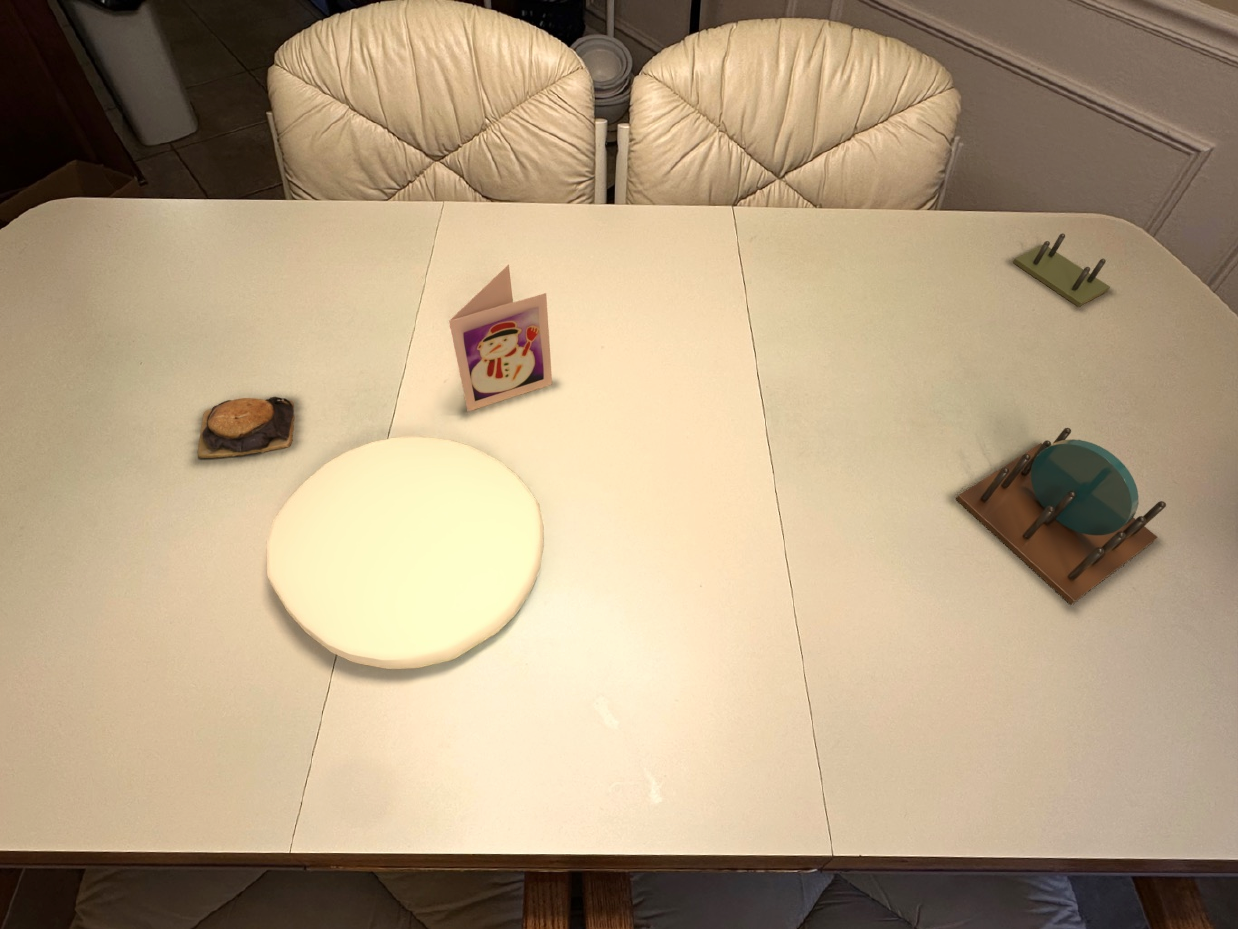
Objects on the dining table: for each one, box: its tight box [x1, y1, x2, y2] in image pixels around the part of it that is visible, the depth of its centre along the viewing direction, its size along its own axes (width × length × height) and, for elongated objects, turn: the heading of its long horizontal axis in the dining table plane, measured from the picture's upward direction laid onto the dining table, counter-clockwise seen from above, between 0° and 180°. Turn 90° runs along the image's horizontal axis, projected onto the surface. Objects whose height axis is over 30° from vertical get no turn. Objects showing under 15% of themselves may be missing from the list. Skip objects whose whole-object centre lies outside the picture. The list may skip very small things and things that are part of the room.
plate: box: [265, 436, 545, 670], centre depth 78 cm, size 28×6×27 cm
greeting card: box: [448, 264, 553, 412], centre depth 90 cm, size 11×7×15 cm, turn 116°
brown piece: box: [196, 396, 295, 459], centre depth 89 cm, size 11×8×4 cm
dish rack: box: [955, 427, 1167, 605], centre depth 83 cm, size 15×16×7 cm
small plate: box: [1031, 439, 1140, 535], centre depth 81 cm, size 1×11×11 cm, turn 33°
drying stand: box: [1012, 233, 1111, 308], centre depth 111 cm, size 7×12×5 cm, turn 33°
